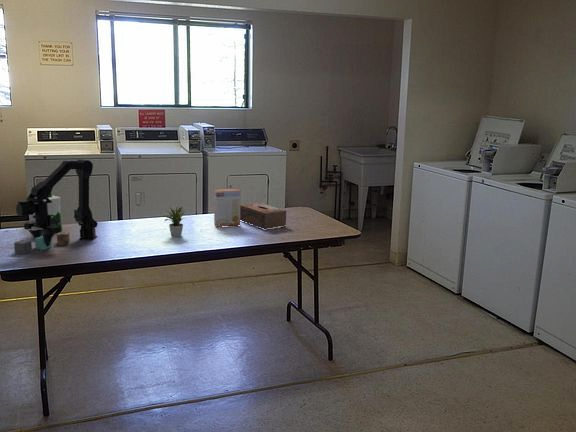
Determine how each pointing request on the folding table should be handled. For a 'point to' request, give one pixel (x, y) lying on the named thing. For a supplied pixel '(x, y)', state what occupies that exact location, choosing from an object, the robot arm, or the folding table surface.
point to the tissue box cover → (262, 215)
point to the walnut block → (63, 238)
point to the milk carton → (54, 208)
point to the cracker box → (226, 207)
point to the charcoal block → (23, 247)
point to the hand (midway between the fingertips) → (43, 245)
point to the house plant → (175, 222)
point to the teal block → (41, 243)
